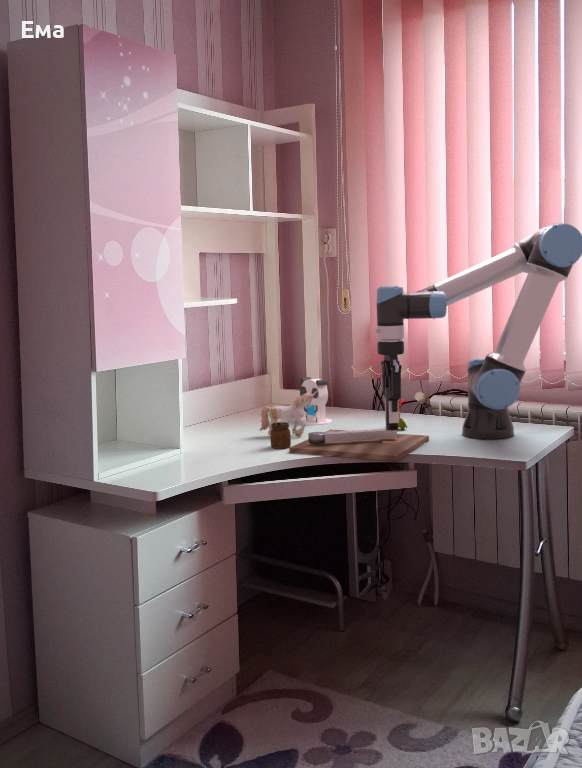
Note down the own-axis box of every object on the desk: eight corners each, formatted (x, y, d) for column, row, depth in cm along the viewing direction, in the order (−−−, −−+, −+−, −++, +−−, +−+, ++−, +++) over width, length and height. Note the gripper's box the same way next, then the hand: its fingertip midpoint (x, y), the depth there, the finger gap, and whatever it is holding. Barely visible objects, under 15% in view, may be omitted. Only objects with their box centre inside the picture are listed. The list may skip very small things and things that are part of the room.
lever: (309, 444, 225) (308, 393, 223) (307, 440, 230) (305, 391, 228) (400, 439, 228) (399, 388, 227) (396, 435, 233) (395, 386, 231)
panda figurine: (291, 421, 275) (290, 378, 273) (318, 417, 281) (317, 375, 279) (311, 426, 265) (310, 381, 263) (339, 422, 271) (337, 378, 269)
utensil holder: (294, 445, 235) (293, 405, 233) (283, 450, 230) (281, 409, 228) (278, 444, 238) (276, 404, 237) (266, 448, 233) (264, 407, 231)
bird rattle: (383, 434, 258) (390, 427, 250) (379, 401, 261) (386, 393, 253) (402, 433, 259) (410, 426, 251) (398, 400, 262) (405, 392, 254)
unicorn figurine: (324, 435, 248) (323, 393, 247) (262, 440, 245) (261, 397, 243) (319, 431, 255) (317, 390, 254) (259, 436, 252) (257, 394, 250)
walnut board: (428, 440, 236) (428, 435, 235) (396, 461, 211) (396, 455, 211) (330, 434, 250) (330, 428, 250) (289, 452, 226) (289, 446, 226)
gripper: (370, 339, 235) (372, 417, 238) (385, 343, 218) (386, 427, 221) (395, 337, 236) (397, 416, 239) (411, 341, 219) (412, 425, 222)
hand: (392, 421), depth 230 cm, fingers closed on lever, 4 cm apart
